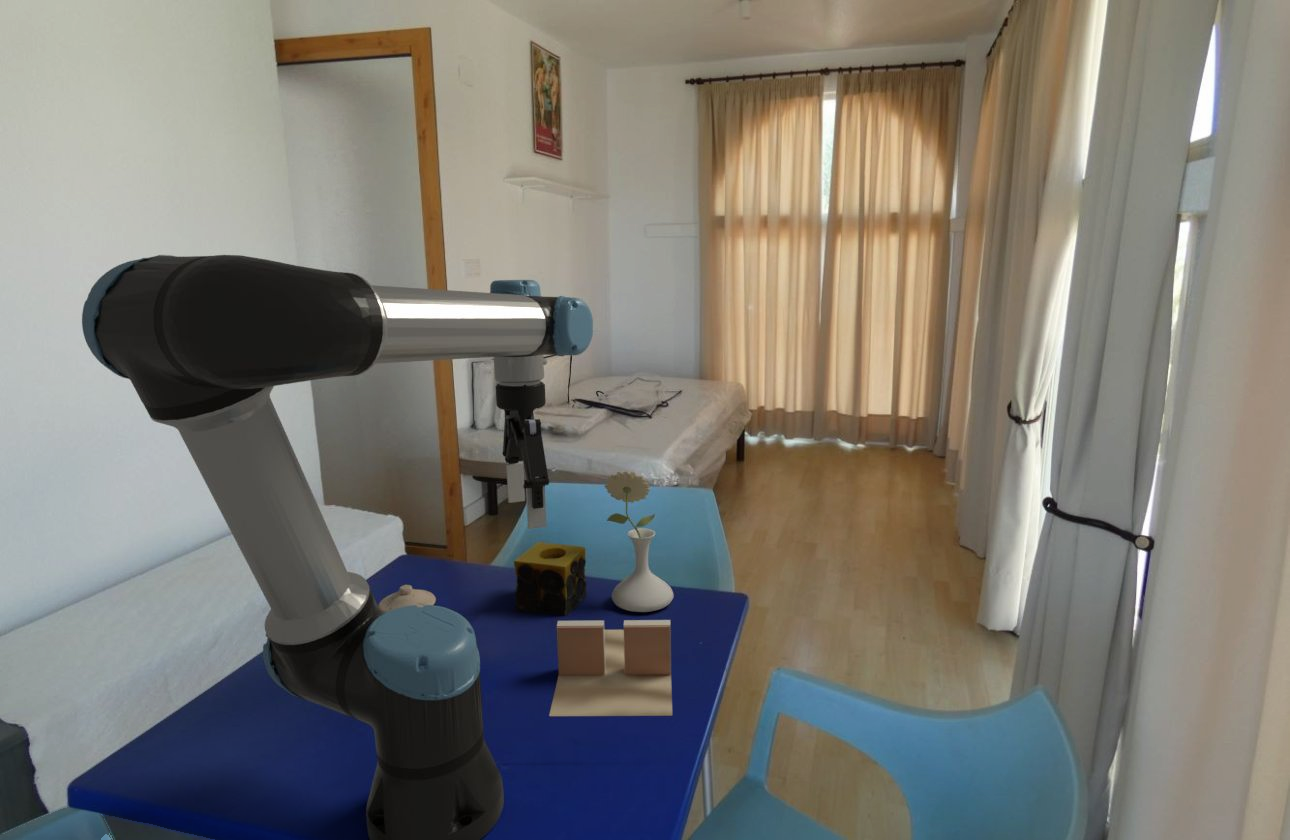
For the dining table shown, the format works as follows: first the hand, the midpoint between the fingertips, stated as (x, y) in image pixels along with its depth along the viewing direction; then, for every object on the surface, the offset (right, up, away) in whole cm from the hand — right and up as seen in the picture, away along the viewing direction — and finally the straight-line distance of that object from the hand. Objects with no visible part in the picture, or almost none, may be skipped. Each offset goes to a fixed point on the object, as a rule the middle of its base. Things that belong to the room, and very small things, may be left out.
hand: (526, 513), depth 117 cm
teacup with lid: (-17, -23, +2) cm, 29 cm away
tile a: (+9, -23, -5) cm, 26 cm away
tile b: (+19, -23, -6) cm, 31 cm away
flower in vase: (+18, -19, +18) cm, 32 cm away
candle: (+2, -19, +18) cm, 27 cm away
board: (+14, -24, -4) cm, 28 cm away
